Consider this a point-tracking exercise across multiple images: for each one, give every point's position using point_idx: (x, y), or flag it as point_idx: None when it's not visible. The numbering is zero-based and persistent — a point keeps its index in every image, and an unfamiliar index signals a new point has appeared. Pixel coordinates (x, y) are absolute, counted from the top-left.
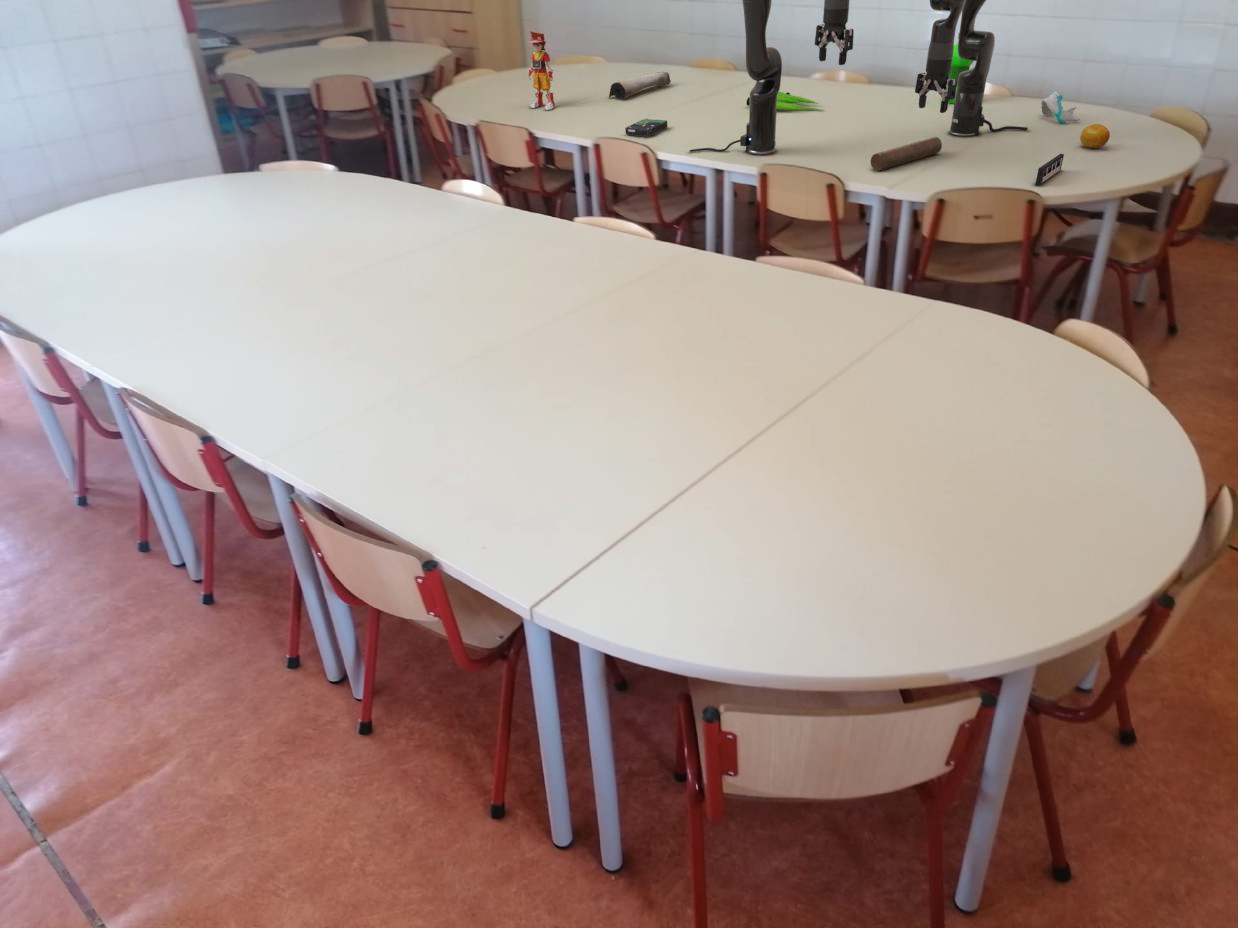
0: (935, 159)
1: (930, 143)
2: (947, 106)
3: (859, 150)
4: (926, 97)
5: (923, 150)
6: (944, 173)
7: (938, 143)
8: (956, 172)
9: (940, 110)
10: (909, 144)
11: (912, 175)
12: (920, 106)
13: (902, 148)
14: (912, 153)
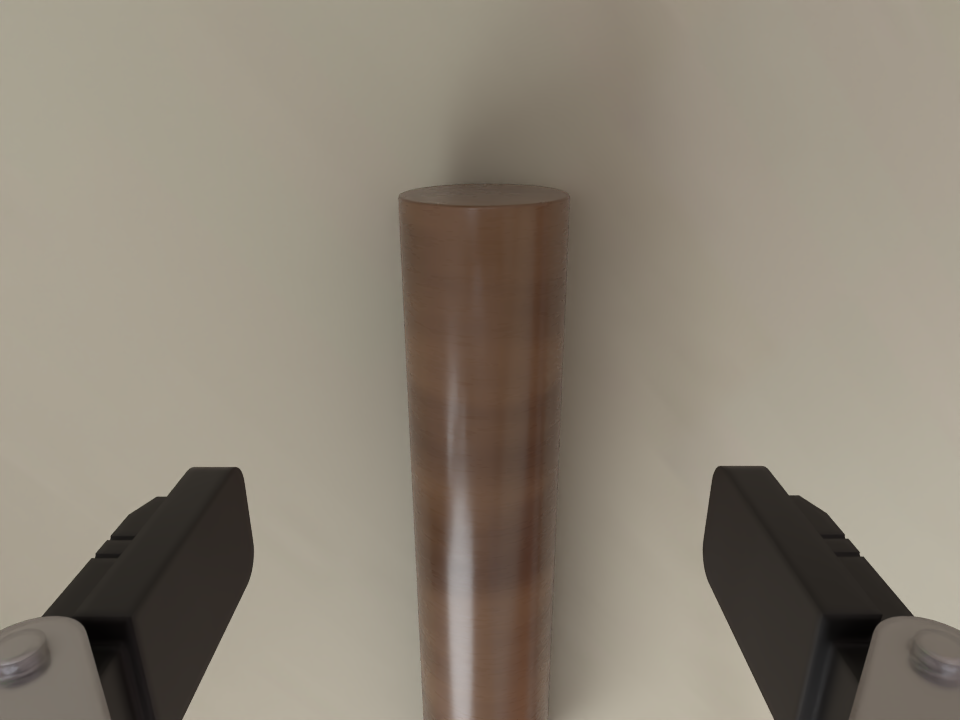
0: (602, 307)
1: (544, 361)
2: (853, 555)
3: (30, 533)
4: (151, 585)
5: (557, 450)
6: (860, 518)
7: (560, 248)
8: (922, 447)
9: (724, 593)
10: (479, 579)
11: (713, 672)
12: (233, 590)
13: (509, 673)
14: (553, 572)
